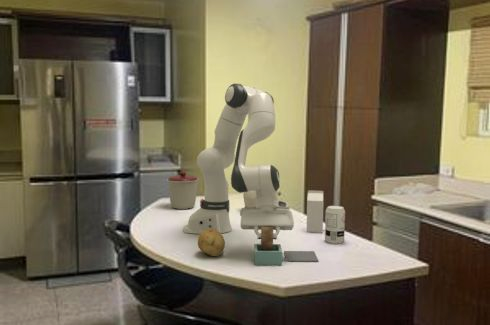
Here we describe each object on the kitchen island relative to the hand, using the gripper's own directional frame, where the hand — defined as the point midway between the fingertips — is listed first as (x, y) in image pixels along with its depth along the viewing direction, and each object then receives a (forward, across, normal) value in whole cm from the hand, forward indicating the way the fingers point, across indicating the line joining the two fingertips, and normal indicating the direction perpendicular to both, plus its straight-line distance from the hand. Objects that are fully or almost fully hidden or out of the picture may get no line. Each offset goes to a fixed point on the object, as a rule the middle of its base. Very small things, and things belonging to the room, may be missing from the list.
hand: (267, 238), depth 181 cm
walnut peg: (+4, 0, +5) cm, 6 cm away
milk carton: (-26, +24, +38) cm, 52 cm away
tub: (+6, 0, +7) cm, 9 cm away
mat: (+2, +13, +10) cm, 17 cm away
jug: (-54, -2, +67) cm, 86 cm away
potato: (+1, -22, +12) cm, 25 cm away
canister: (-60, -44, +74) cm, 105 cm away
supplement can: (-13, +30, +26) cm, 42 cm away
